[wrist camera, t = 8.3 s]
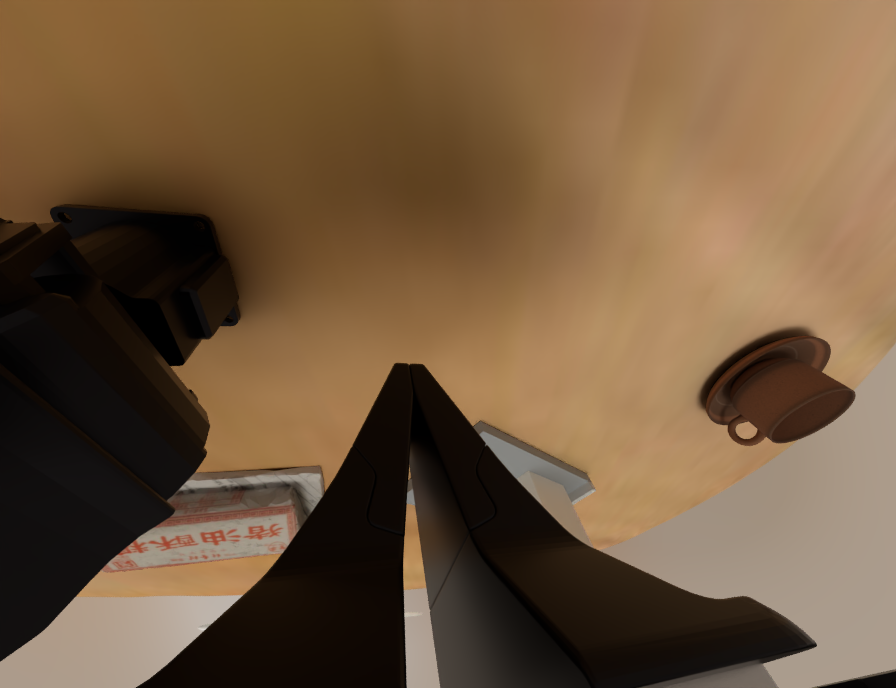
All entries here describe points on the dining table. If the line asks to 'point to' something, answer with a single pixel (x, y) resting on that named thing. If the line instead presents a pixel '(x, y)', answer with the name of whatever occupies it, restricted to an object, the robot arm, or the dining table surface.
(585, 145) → the dining table surface
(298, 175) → the dining table surface
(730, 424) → the cup and saucer
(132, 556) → the packaged product
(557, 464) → the podium
